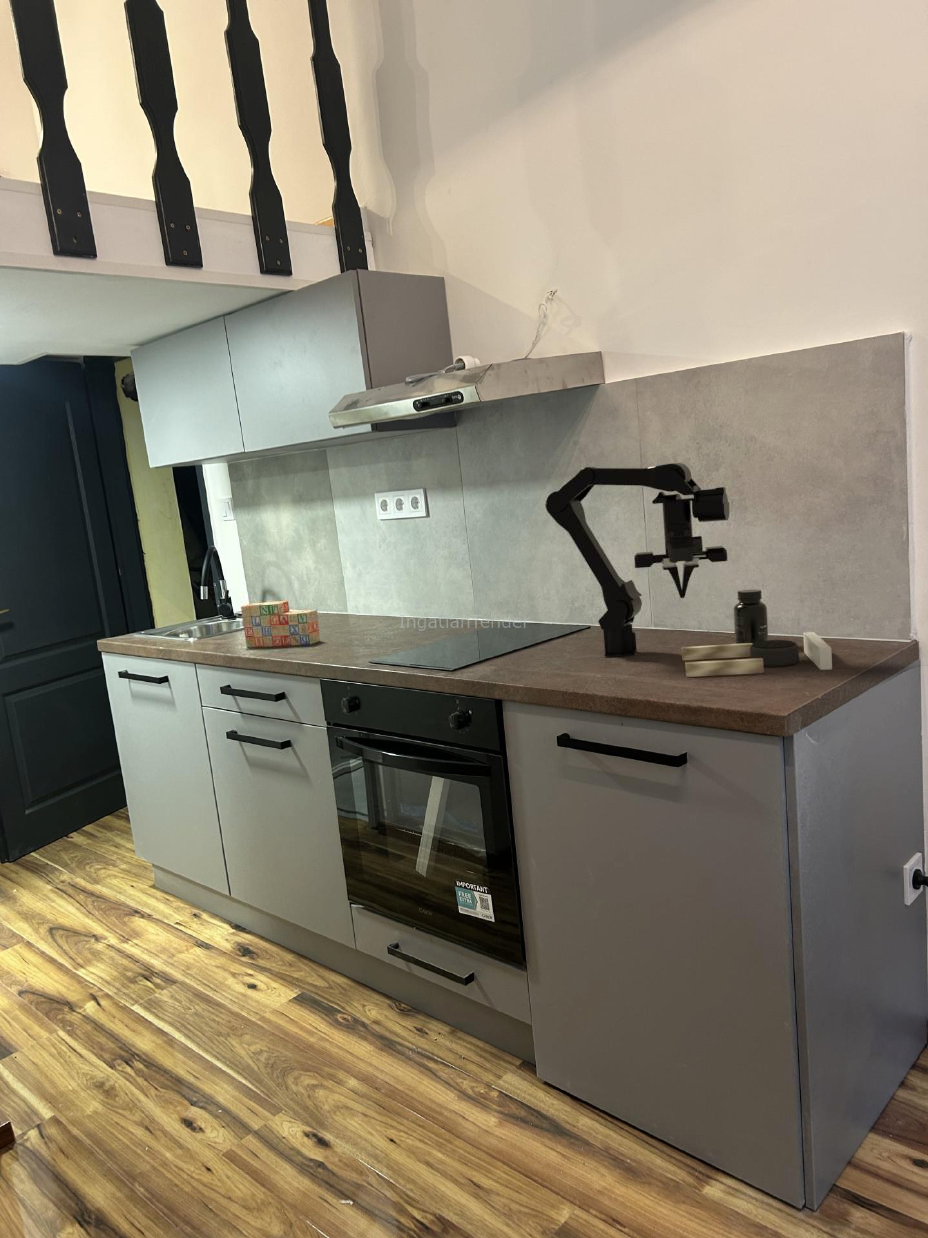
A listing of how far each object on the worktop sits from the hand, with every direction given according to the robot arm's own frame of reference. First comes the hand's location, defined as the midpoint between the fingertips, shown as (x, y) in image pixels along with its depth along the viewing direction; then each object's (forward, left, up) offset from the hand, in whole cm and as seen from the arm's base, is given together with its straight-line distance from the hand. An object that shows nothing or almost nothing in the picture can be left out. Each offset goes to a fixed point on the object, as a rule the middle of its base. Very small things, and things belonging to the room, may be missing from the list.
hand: (682, 597), depth 191 cm
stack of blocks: (-111, +49, -12) cm, 122 cm away
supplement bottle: (+14, +4, -12) cm, 19 cm away
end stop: (+24, -14, -12) cm, 30 cm away
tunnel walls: (+6, -14, -12) cm, 19 cm away
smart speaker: (+16, -14, -12) cm, 25 cm away
